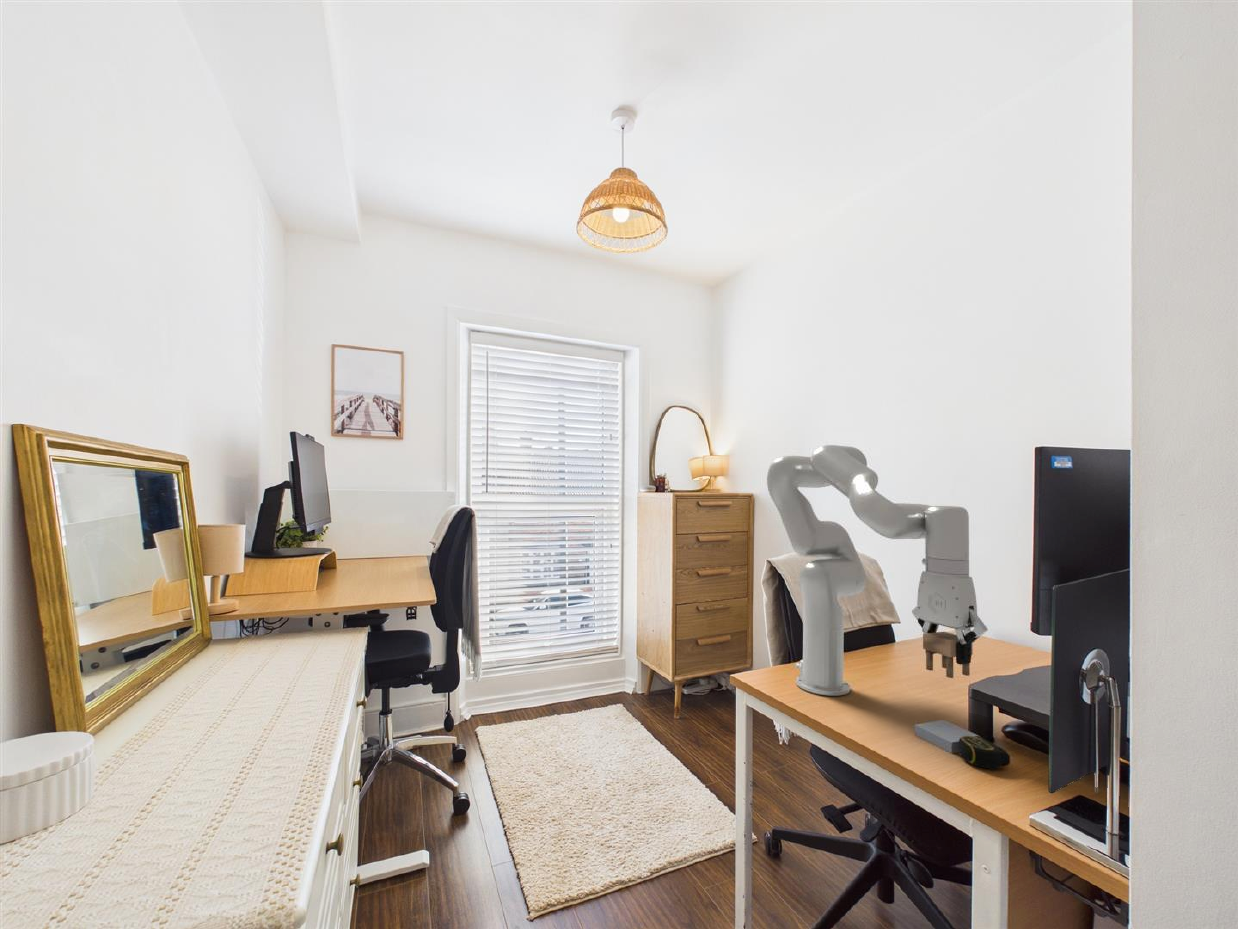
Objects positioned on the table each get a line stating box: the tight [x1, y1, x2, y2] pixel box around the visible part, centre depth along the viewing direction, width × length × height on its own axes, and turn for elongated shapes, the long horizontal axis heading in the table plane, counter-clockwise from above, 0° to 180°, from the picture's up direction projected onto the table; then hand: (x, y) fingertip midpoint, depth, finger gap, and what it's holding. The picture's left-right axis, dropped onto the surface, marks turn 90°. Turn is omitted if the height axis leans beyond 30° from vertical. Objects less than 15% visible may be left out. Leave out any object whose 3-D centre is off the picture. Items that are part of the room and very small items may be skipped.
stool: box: [922, 631, 974, 679], centre depth 107 cm, size 6×6×7 cm
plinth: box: [914, 719, 979, 754], centre depth 106 cm, size 8×8×2 cm
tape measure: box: [957, 735, 1011, 770], centre depth 98 cm, size 7×7×4 cm
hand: (947, 657), depth 107 cm, fingers closed on stool, 6 cm apart
